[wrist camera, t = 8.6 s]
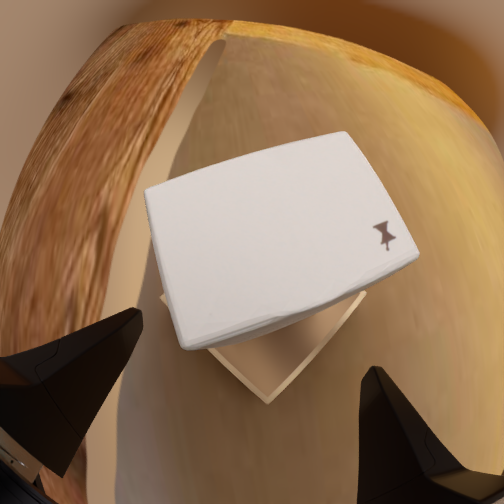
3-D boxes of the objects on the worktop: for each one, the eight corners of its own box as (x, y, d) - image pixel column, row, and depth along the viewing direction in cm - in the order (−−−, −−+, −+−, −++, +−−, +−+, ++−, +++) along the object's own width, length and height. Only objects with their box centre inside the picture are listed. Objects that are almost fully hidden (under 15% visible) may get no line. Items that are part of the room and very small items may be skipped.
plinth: (265, 395, 18) (267, 405, 15) (171, 303, 20) (158, 297, 17) (351, 299, 20) (367, 292, 17) (260, 218, 23) (262, 199, 20)
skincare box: (294, 254, 18) (351, 125, 7) (318, 313, 17) (429, 258, 6) (207, 284, 18) (137, 184, 6) (229, 347, 16) (182, 361, 5)
